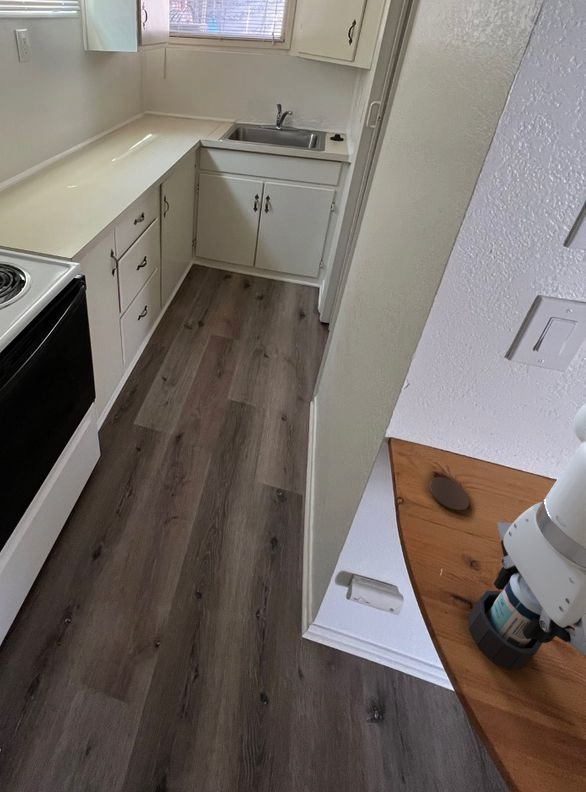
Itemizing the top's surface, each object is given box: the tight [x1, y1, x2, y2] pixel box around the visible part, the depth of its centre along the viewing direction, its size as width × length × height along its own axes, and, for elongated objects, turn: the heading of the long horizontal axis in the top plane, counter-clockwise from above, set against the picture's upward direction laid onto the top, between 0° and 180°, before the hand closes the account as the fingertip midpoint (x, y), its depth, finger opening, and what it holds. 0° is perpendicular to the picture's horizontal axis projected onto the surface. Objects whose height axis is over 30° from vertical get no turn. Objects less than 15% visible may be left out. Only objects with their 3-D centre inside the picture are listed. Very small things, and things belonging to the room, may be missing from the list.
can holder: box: [467, 590, 543, 671], centre depth 60 cm, size 7×7×5 cm
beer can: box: [485, 573, 542, 648], centre depth 58 cm, size 5×5×12 cm
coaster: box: [428, 476, 470, 513], centre depth 80 cm, size 6×6×1 cm
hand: (520, 609), depth 57 cm, fingers closed on beer can, 4 cm apart
